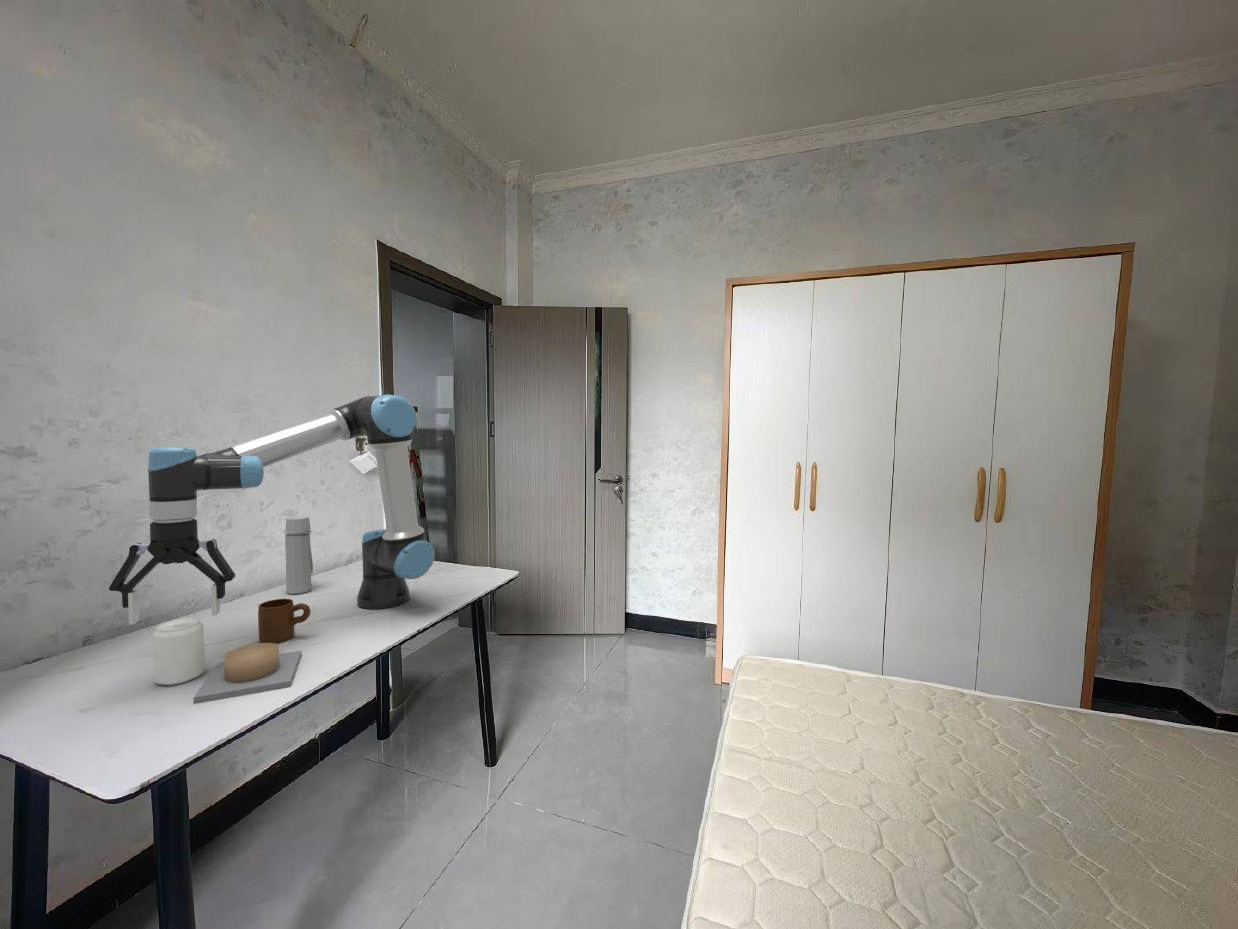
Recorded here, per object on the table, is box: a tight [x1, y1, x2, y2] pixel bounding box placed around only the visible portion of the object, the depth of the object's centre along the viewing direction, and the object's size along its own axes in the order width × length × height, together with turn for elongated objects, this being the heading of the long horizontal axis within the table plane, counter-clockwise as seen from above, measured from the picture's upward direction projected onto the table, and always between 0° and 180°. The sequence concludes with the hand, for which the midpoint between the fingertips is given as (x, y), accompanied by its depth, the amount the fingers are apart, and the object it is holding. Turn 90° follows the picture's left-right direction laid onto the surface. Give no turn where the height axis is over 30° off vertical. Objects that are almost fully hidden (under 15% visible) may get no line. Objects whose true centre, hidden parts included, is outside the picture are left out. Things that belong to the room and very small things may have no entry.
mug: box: [257, 598, 312, 644], centre depth 127 cm, size 12×8×9 cm, turn 97°
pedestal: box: [193, 642, 302, 704], centre depth 107 cm, size 16×16×6 cm
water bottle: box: [283, 515, 314, 595], centre depth 165 cm, size 9×8×25 cm
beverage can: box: [152, 617, 206, 686], centre depth 106 cm, size 8×8×12 cm
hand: (176, 617), depth 106 cm, fingers open, 13 cm apart
